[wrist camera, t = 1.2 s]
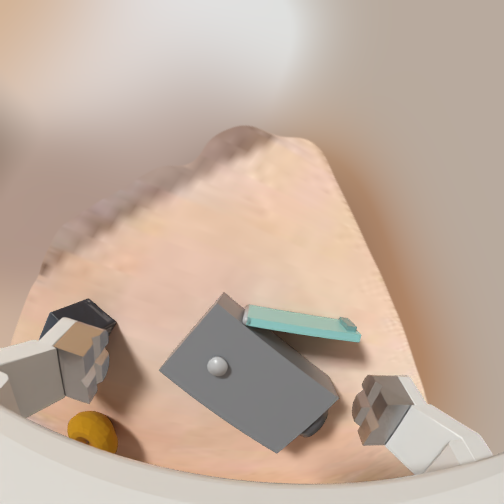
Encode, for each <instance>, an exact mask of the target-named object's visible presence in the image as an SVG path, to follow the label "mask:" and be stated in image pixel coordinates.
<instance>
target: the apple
mask: <svg viewBox="0 0 504 504" xmlns="http://www.w3.org/2000/svg"><path fill="white" fill-rule="evenodd" d="M67 432H68V436H69V438H71V439H74V440H76V441H79V442H82V443H84V444H87V445H90V446H93V447H95V448H98V449H101V450H104V451H107V452H110V453H113V454H115V453H116V451H117V447H118V439H117V436H116V433H115V430H114V427H113V425H112V423H111V421H110V420H109V418H108V417H106V416H105V415H103V414H102V413H99V412H96V411H85V412H81V413H78V414H77V415H76V416H74V417H73V418H72V419H71V420H70V421H69V423H68V430H67Z"/></svg>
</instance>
